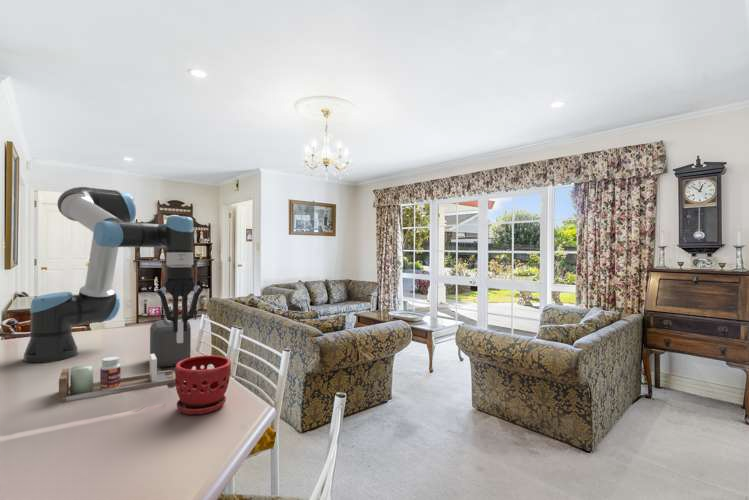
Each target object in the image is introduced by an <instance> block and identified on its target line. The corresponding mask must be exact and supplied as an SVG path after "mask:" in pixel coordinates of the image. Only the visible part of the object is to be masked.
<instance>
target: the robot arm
mask: <svg viewBox="0 0 749 500" xmlns="http://www.w3.org/2000/svg"><path fill="white" fill-rule="evenodd" d="M56 205H57V209H58V211H59V213H60V214H61V215H62V216H63V217H65V218H66V219H67V220H69V221H73V222H78V223H79V224H81V225H82V226H84V227H85V228H87V229H89V231H91V232H92V233H93V234H92V239H91V247H90V253H89V259H88V265H87V271H86V272H87V273H86V278H85V284H84V285H83V286H82V287H80V288H79V293H78V294H73V293H72V291H63V292H62V291H60V292H51V293H47V294H42V295H38V296H36V297H34V298H33V299H32V300H31V301H30V308H29V313H30V338H29V341H28V343H27V346H26V348H25V351H24V353H23V362H25V363H31V364H32V363H34V364H37V363H48V362H55V361H61V360H66V359H69V358H72V357H75V356H77V355H78V345H77V343H76V341H75V339H74V336H73V334H72V333H73V331H72V329H73V326H74V327H75V326H81V325H87V324H88V325H89V324H96V323H99V324H100V323H104V322H108V321H111V320H113V319H115V317H117V315H118V313H119V310H120V308H121V299H120V295H119V294H118V293H117V292H116V290H115V288H114V287H112V286H113V282H114V275H115V269H116V263H117V257H118V251H119V248H155V249H156V248H157V249H158V248H159V249H163V248H166V249H165V250H166V253H165V254H166V258H165V259H166V261H165V262H166V263H165V264H166V266H168V267H166V269H165V271H166V274H165V276H166V278H165V279H166V281H165V283H164V286H162V287H161V288H160V289H156V293H157V294H158V296H159V298H160V300H161V301H160V303H161V304H162V308H163V312H164V316H165V317H166V319H167V320H168V321H172V322H173V332H177V343H183V331H187V321H188V322H189V320H191V319H193V318H194V316H195V313H196V309H197V305H198V301H199V297H200V295H201V293H202V292H203V290H204V289H203V288H202V287H200V286H198V285H197V284H196V282H195V280H194V267H193V265H194V246H195V245H194V243H195V242H194V238H195V237H194V234H195V233H194V232H195V228H194V219H193V218H192V217H189V216H181V215H178V216H177V215H175V216H172V215H171V216H167V218H166V223H162V224H161V223H148V222H145V223H144V222H134V221H135V218H136V216H137V207H136V203H135V199H134V198H133V196H132V195H131V194H130V193H128V192H125V191H120V190H117V189H107V188H105V189H104V188H94V187H86V186H85V187H84V186H77V187H73V188H70V189H67V190H65V191H64V192H63V193H61V195H60V196H59V197H58V198H57V204H56ZM192 291H193V295H192V298H191V302H190V307H189V310H188V299H189V297H188V295H189V294H190V293H191V292H192ZM167 292H168V293H169V294H170V295H171V297H172V314H171V311H170V308H169V304H168V301H167V298H166V295H167ZM179 297H181V318H182V320H181V321H178V319H179ZM171 315H172V316H173V317H172V316H171Z"/></svg>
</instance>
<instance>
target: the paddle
mask: <svg viewBox="0 0 749 500" xmlns="http://www.w3.org/2000/svg"><path fill="white" fill-rule="evenodd" d="M157 372H158V366H157V358H156V356H155V354H150V353H149V373H150V379H151V382H154V381H160V380H166V379H167V377H166V375H165V373H161V374H157Z"/></svg>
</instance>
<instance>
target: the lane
mask: <svg viewBox="0 0 749 500" xmlns="http://www.w3.org/2000/svg"><path fill="white" fill-rule="evenodd" d="M172 372H173V370H172V369H170V370H169V369H168V370H162V371H157V374H161V373H165V375H166V377H167V379H166V380H160V381H154V382H151V379H150V372H148V373H144V374H137V375H129V376H124V377H120V387H119V388H113V389H107V390H101V389H100V380H98V381H93V392H89V393H83V394H77V395H70V368H69V367H68V368H62V370H61V372H60V376H59V378H58V403H59V404H60V403H65V402H71V401H77V400H83V399H88V398H89V399H90V398H94V397H101V396H105V395H111V394H116V393H118V394H119V393H124V392H129V391H136V390H142V389H146V388H152V387H153V388H154V387H156V386H157V387H158V386H163V385H166V387H167V388H170V387H176V383H175V377H174V376H173V373H172Z"/></svg>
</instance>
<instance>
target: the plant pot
mask: <svg viewBox="0 0 749 500" xmlns="http://www.w3.org/2000/svg"><path fill="white" fill-rule="evenodd" d="M209 365H212V366H213V367H214V368H208V367H209ZM202 366H203V368H201V367H202ZM231 366H232V361H231V359H229V358H228V357H225V356H220V355H199V356H197V355H196V356H190V358H187V359H184V360H181V361H180V362H178V363H177V364H176V365H175V375H174V376H175V377H174V378H175V383H176V386H175V389H176V393H177V397H178V398H179V399H178V400H177V402H176V408H177V409H178V410H179V411H180V412H181V413H183V414H186V415H203V414H208V413H212V412H214V411H216V410H218V409H220V408H222V407H223V406H224V404H225V403H226V401H227V398H226V396H225V395H226V392H227V390H228V387H229V383H230V379H231V372H232V371H231V370H232V369H231V368H232V367H231ZM193 367H195V369H192V368H193Z"/></svg>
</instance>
